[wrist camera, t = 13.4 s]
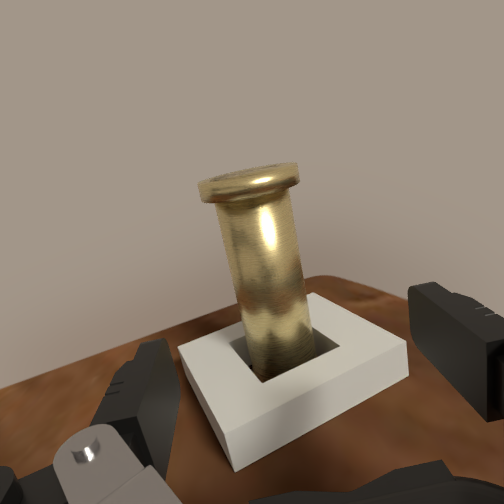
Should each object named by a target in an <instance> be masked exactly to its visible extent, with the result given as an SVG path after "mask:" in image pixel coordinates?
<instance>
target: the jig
mask: <svg viewBox="0 0 504 504" xmlns="http://www.w3.org/2000/svg"><path fill="white" fill-rule="evenodd" d="M307 301H308V307H309V313H310V319H311V325H312V331H313V337H314V343H315V349H316V355H317V358H314V359H312V360H310V361H308V362H306V363H304V364H302V365H300V366H298V367H296V368H293V369H291V370H289V371H287V372H285V373H283V374H281V375H279V376H277V377H275V378H273V379H270V380H268V381H266V382H264V383H261V382H260V380H259V379H258V378H257V377H256V376H255V374H254V373H253V372H252V371H251V370H250V369H249V367H248V366H250V365H252V363H251V359H250V355H249V350H248V346H247V342H246V337H245V333H244V329H243V324H242V321H241V322H238V323H236V324H233V325H231V326H228V327H226V328H223V329H221V330H218V331H216V332H213V333H211V334H208V335H206V336H203V337H201V338H198V339H196V340H193V341H191V342H189V343H186V344H184V345H181V346H179V347H178V350H179V354H180V357H181V360H182V364H183V367H184V371H185V374H186V376H187V378H188V380H189V382H190V384H191V386H192V388H193V390H194V392H195V394H196V396H197V398H198V400H199V402H200V404H201V406H202V408H203V410H204V412H205V414H206V416H207V418H208V420H209V422H210V424H211V426H212V428H213V430H214V432H215V434H216V436H217V438H218V440H219V442H220V444H221V446H222V448H223V450H224V452H225V454H226V456H227V458H228V460H229V462H230V464H231V466H232V468H233V470H234V472H237V471H239V470H241V469H242V468H244V467H246V466H248V465H250V464H251V463H253V462H255V461H257V460H259V459H260V458H262V457H264V456H266V455H267V454H269V453H271V452H273V451H275V450H276V449H278V448H280V447H282V446H284V445H285V444H287V443H289V442H291V441H293V440H294V439H296V438H298V437H300V436H302V435H303V434H305V433H307V432H309V431H310V430H312V429H314V428H316V427H318V426H319V425H321V424H323V423H325V422H327V421H328V420H330V419H332V418H334V417H336V416H337V415H339V414H341V413H343V412H345V411H346V410H348V409H350V408H352V407H353V406H355V405H357V404H359V403H361V402H362V401H364V400H366V399H368V398H370V397H371V396H373V395H375V394H377V393H379V392H380V391H382V390H384V389H386V388H388V387H389V386H391V385H393V384H395V383H396V382H398V381H400V380H402V379H404V378H405V377H407V376H409V372H408V360H407V347H406V341H405V340H403V339H401V338H399V337H397V336H395V335H393V334H391V333H390V332H388V331H386V330H384V329H382V328H380V327H378V326H376V325H374V324H372V323H370V322H369V321H367V320H365V319H363V318H361V317H359V316H357V315H355V314H353V313H351V312H349V311H348V310H346V309H344V308H342V307H340V306H338V305H336V304H334V303H332V302H330V301H328V300H327V299H325V298H323V297H321V296H319V295H317V294H315V293H311V294H308V295H307Z"/></svg>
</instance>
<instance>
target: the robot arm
mask: <svg viewBox="0 0 504 504" xmlns="http://www.w3.org/2000/svg"><path fill="white" fill-rule="evenodd" d="M408 305H409V318H410V330H411V335H412V338H413V341H414V343H415V345H416V346H417V348H418V349H419V350H420V351H421V352H422V353H423V354H424V355H425V357H426V358H427V359H428V360H429V361H430V362H431V363H432V364H433V365H434V366H435V367H436V368H437V369H438V370H439V372H440V373H441V374H442V375H443V376H444V377H445V378H446V379H447V380H448V381H449V382H450V383H451V384H452V386H453V387H454V388H455V389H456V390H457V391H458V392H459V393H460V394H461V395H462V396H463V397H464V398H465V399H466V401H467V402H468V403H469V404H470V405H471V406H472V407H473V408H474V409H475V410H476V411H477V412H478V413H479V414H480V416H481V417H482V418H483V419H484V420H485V421H486V422H492V421H496V420H501V419H504V318H503V317H501V316H500V315H498V314H495V313H494V312H493V311H492V310H490V309H488V308H487V307H484V305H482V304H481V303H479V302H477V301H476V300H474V299H473V298H470V297H467V296H464V295H461V294H458V293H451V292H449V291H448V290H446V289H445V288H443V287H442V286H440V285H439V284H437V283H436V282H429V283H424V284H419V285H415V286H410V287H409V289H408ZM179 402H180V383H179V379H178V375H177V372H176V369H175V365H174V362H173V359H172V356H171V352H170V349H169V346H168V343H167V341H166V339H165V338H162V339H157V340H152V341H148V342H143V343H141V344H140V346H139V348H138V350H137V352H136V355H135V357H134V359H133V360H131V361H127V362H126V363H125V364H124V365H123V366H122V367H121V368H120V369H119V370H118V371H117V372H116V373H115V375H114V377H113V379H112V381H111V383H110V387H108V389H107V391H106V393H105V396H104V397H103V399H102V401H101V403H100V405H99V407H98V409H97V412H96V414H95V416H94V418H93V420H92V422H91V424H90V426H89V427H88V428H85V429H83V430H81V431H79V432H78V433H76V434H75V435H73V436H72V437H70V438H69V439H68V440H67V441H66V442H65V443H64V444H63V445H62V446H61V447H60V448H59V450H58V451H57V453H56V455H55V457H54V460H53V464H52V465H50V466H48V467H45V468H43V469H41V470H39V471H36V472H34V473H32V474H30V475H28V476H25V477H23V478H21V479H19V480H18V479H17V478H16V476H15V474H14V472H13V470H12V469H11V468H10V467H7V466H0V504H182V503H181V501H180V500H179V499H178V498H177V496H176V495H175V494H174V493H173V491H172V490H171V489H170V488H169V486H168V485H167V484H166V483H165V479H166V474H167V468H168V463H169V457H170V452H171V446H172V441H173V435H174V430H175V424H176V419H177V413H178V408H179ZM249 504H504V487H501V486H499V485H496V484H493V483H489V482H486V481H482V480H478V479H473V478H466V477H458V476H453V475H452V474H451V472H450V471H449V470H448V468H447V467H446V465H445V464H444V462H443V461H442V460H437V461H433V462H428V463H423V464H419V465H414V466H409V467H405V468H400V469H395V470H393V471H391V472H389V473H387V474H385V475H383V476H381V477H379V478H377V479H375V480H373V481H371V482H369V483H367V484H366V485H364V486H362V487H360V488H358V489H356V490H354V491H351V492H317V491H293V492H288V493H284V494H279V495H274V496H270V497H265V498H260V499H256V500H251V501H249Z"/></svg>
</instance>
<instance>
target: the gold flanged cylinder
mask: <svg viewBox="0 0 504 504" xmlns="http://www.w3.org/2000/svg"><path fill="white" fill-rule="evenodd" d="M299 182H300V178H299V172H298V166H297V163H280V164H273V165H266V166H261V167H255V168H250V169H245V170H241V171H236V172H232V173H227V174H223V175H219V176H216V177H213V178H209V179H206V180H203V181H201V182H199V183H198V188H199V192H200V197H201V201H202V202H204V203H215V207H216V212H217V216H218V220H219V224H220V228H221V233H222V238H223V242H224V246H225V250H226V255H227V259H228V263H229V268H230V272H231V277H232V281H233V285H234V290H235V294H236V298H237V303H238V307H239V311H240V316H241V320H242V324H243V329H244V333H245V337H246V342H247V346H248V350H249V355H250V359H251V363H252V368H253V372H254V374H255V376H256V377H257V378H258V379H259V380H260V382H261V383H264V382H266V381H268V380H270V379H273V378H275V377H277V376H279V375H281V374H283V373H285V372H287V371H289V370H291V369H293V368H296V367H298V366H300V365H302V364H304V363H306V362H308V361H310V360H312V359H314V358H317V355H316V349H315V343H314V337H313V331H312V325H311V319H310V313H309V307H308V301H307V295H306V289H305V283H304V277H303V272H302V265H301V259H300V253H299V248H298V242H297V236H296V229H295V224H294V218H293V212H292V206H291V200H290V194H289V188H290V187H292V186H295V185H297V184H298V183H299Z"/></svg>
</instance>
